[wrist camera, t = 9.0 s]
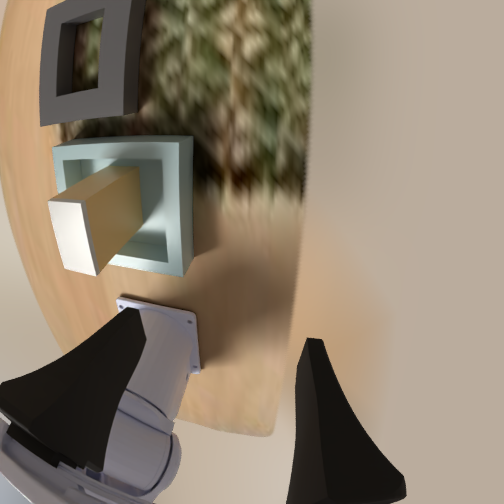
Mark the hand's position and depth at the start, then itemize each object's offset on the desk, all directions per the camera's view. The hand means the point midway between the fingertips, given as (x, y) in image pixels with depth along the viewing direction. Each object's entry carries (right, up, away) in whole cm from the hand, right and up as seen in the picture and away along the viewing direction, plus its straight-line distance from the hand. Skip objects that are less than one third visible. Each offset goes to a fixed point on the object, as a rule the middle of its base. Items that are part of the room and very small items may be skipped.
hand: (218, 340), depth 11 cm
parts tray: (-8, +8, +7) cm, 13 cm away
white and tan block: (-8, +8, +7) cm, 13 cm away
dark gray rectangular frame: (-10, +17, +2) cm, 20 cm away
